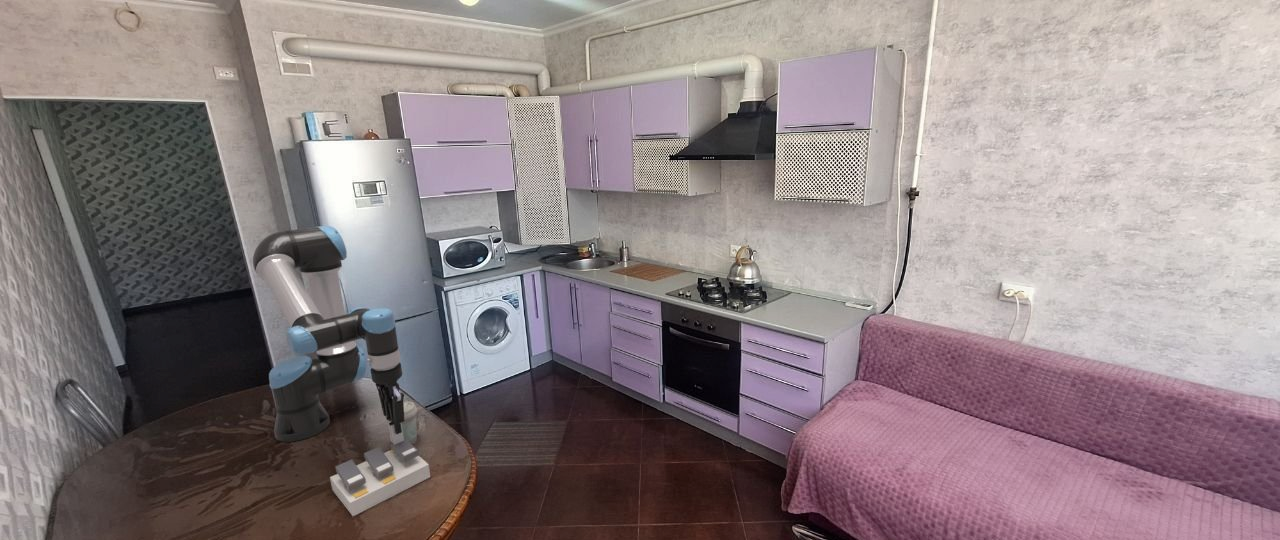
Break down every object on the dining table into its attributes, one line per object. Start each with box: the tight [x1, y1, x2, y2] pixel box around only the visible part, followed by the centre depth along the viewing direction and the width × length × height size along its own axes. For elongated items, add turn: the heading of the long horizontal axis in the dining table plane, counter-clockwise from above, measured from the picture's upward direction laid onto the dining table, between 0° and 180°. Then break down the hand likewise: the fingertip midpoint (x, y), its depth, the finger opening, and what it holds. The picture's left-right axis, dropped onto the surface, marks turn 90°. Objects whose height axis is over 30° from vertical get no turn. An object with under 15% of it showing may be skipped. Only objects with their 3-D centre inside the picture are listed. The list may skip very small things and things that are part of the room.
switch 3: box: [390, 438, 420, 462], centre depth 142 cm, size 9×4×2 cm, turn 48°
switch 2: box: [363, 446, 394, 478], centre depth 136 cm, size 9×4×2 cm, turn 48°
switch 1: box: [335, 459, 366, 491], centre depth 132 cm, size 9×4×2 cm, turn 48°
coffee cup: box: [401, 401, 418, 446], centre depth 156 cm, size 8×8×12 cm
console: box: [329, 449, 431, 517], centre depth 138 cm, size 15×20×6 cm
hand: (397, 441), depth 144 cm, fingers closed, pressing on switch 3
